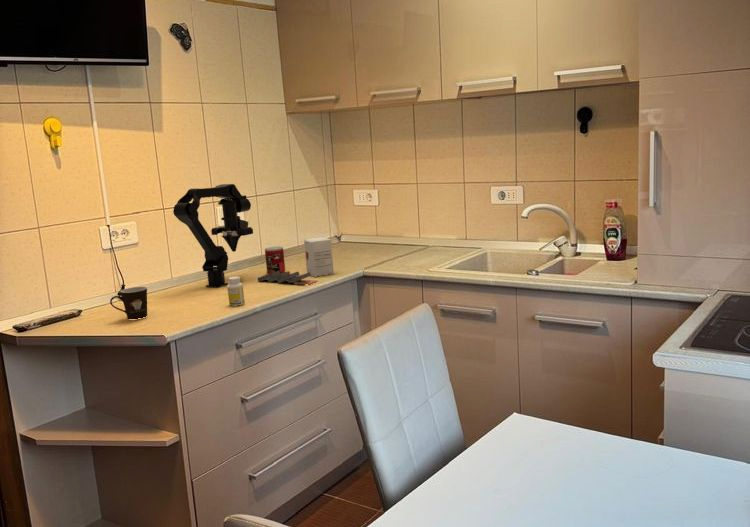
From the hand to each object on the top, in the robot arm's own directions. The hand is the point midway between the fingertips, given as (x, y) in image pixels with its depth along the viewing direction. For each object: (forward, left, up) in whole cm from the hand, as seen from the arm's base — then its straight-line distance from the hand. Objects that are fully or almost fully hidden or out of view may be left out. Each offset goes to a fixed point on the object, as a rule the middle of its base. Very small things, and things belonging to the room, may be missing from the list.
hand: (234, 251), depth 292 cm
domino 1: (0, -13, -11) cm, 17 cm away
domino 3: (-1, -24, -11) cm, 26 cm away
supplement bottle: (-36, -29, -12) cm, 48 cm away
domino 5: (0, -31, -12) cm, 33 cm away
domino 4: (-1, -29, -11) cm, 31 cm away
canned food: (+15, -9, -12) cm, 21 cm away
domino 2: (0, -18, -11) cm, 21 cm away
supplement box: (+16, -31, -12) cm, 37 cm away
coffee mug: (-61, -4, -12) cm, 63 cm away
